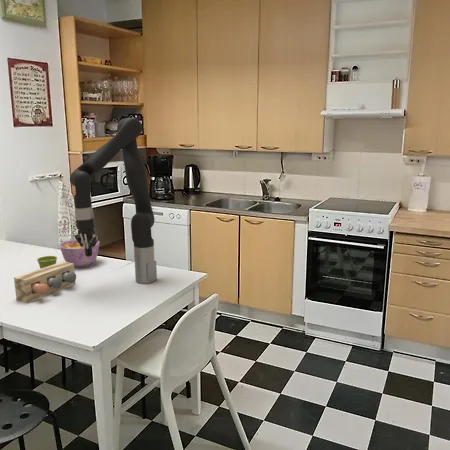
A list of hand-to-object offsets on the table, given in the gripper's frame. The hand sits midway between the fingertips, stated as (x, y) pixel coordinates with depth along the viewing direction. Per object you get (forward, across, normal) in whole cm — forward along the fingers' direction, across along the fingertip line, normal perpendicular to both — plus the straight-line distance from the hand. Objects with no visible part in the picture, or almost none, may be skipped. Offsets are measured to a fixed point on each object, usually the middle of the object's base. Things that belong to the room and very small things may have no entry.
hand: (88, 256), depth 202 cm
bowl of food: (+16, +32, -26) cm, 44 cm away
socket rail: (+15, +18, +10) cm, 25 cm away
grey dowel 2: (+13, +15, +2) cm, 20 cm away
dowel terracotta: (+13, +15, +18) cm, 26 cm away
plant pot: (+15, +34, -6) cm, 38 cm away
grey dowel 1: (+13, +16, +10) cm, 22 cm away
